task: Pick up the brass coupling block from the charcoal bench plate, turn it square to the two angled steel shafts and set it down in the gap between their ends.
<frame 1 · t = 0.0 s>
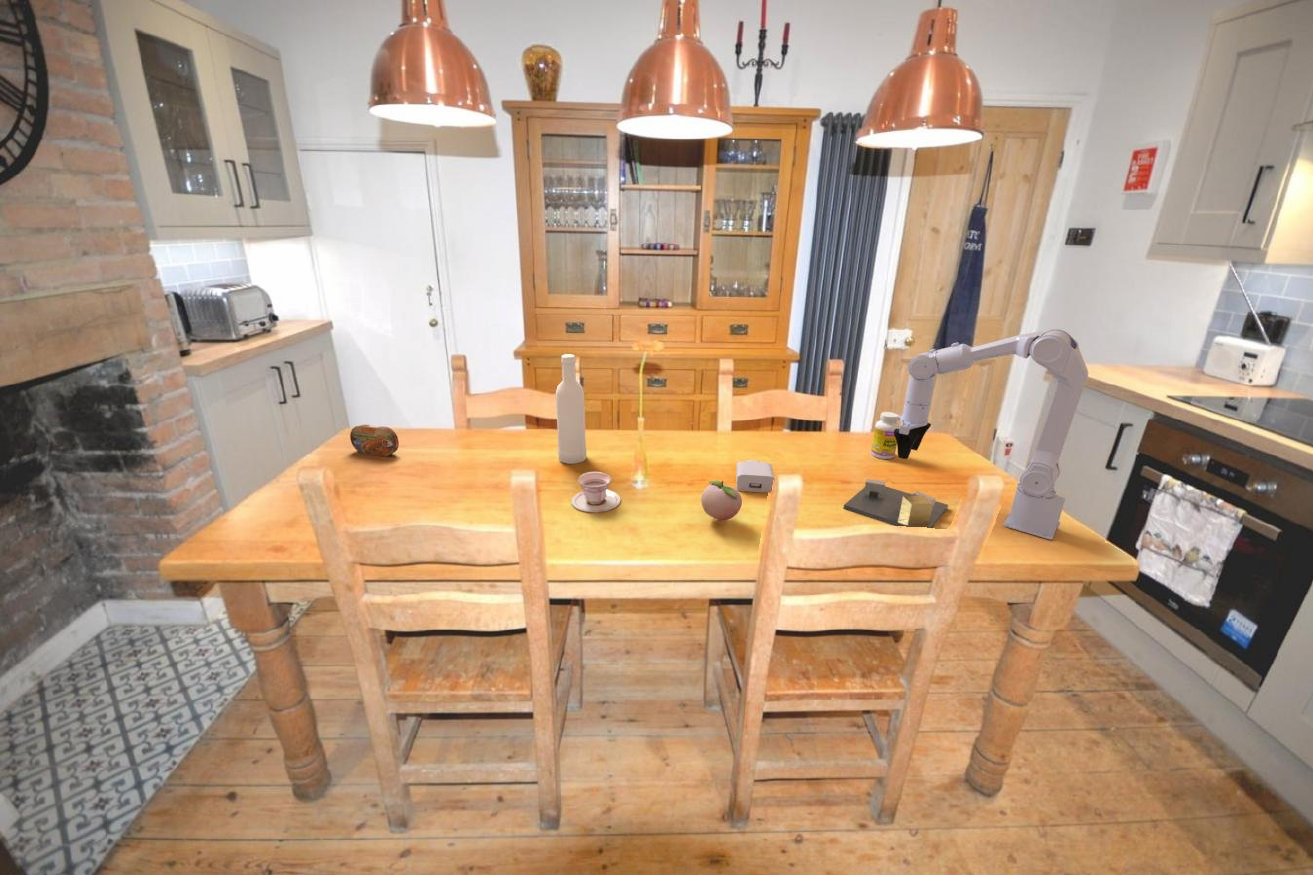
hand: (907, 453, 143), 10 cm above the table, tool pointing down, fingers open, 7 cm apart
teacup: (596, 502, 138), on the table
supplement bottle: (882, 456, 168), on the table
bottle: (572, 459, 163), on the table
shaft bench: (898, 502, 140), on the table
decorative fruit: (719, 521, 130), on the table
charger: (753, 480, 152), on the table
coupling block: (914, 519, 130), point 1 cm above the table, touching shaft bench
tin: (377, 453, 165), on the table
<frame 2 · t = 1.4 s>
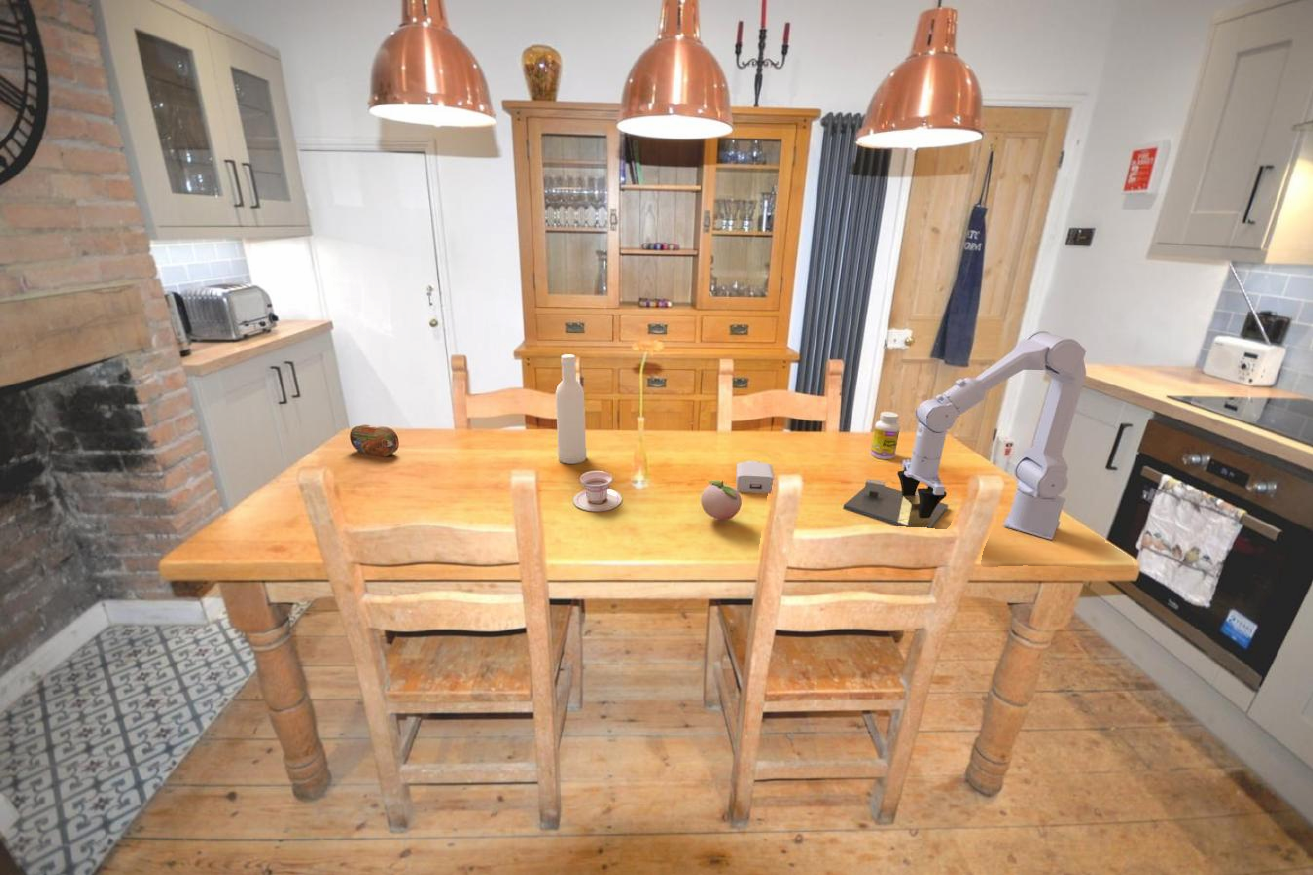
hand: (915, 509, 129), 4 cm above the table, tool pointing down, fingers open, 7 cm apart
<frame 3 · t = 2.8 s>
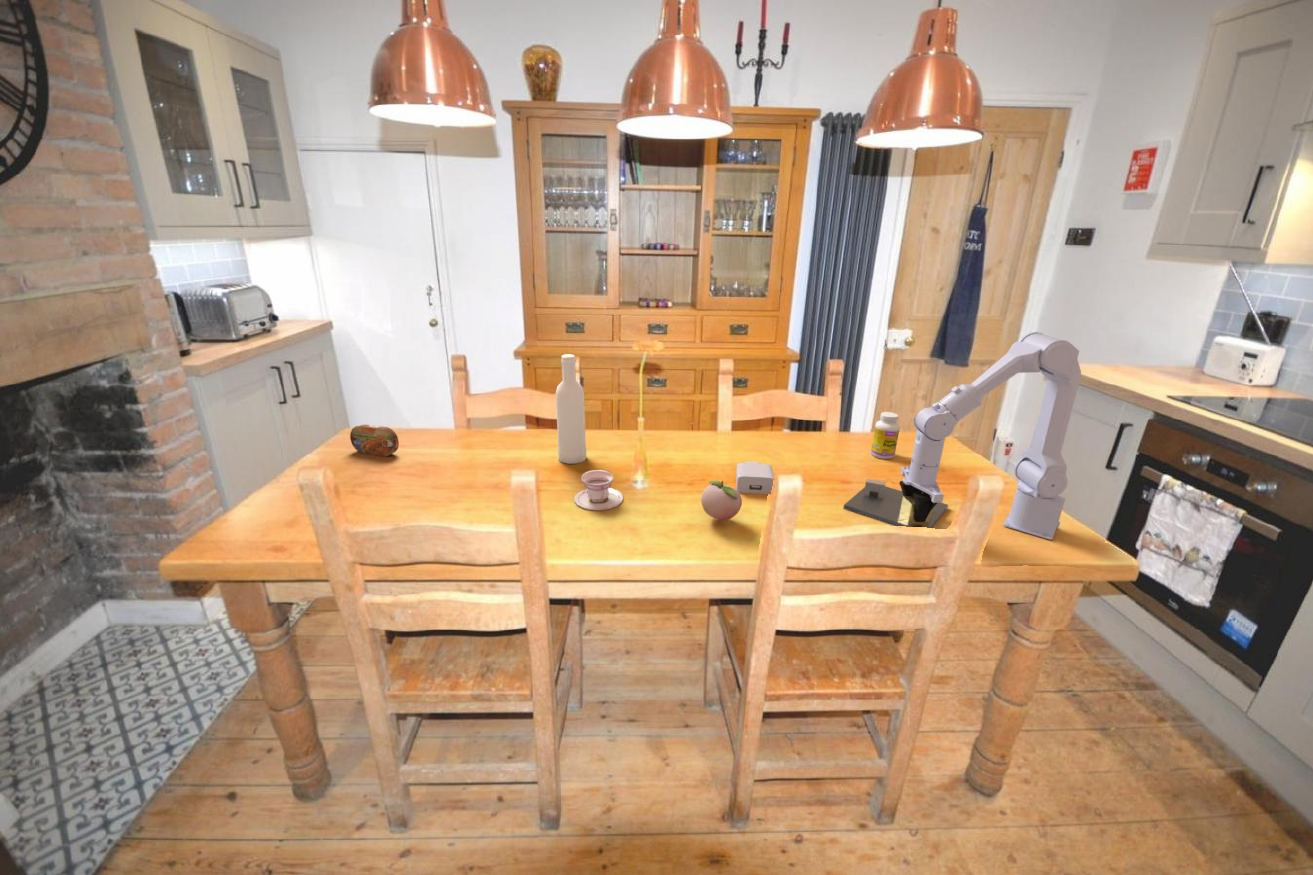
hand: (914, 516, 130), 2 cm above the table, tool pointing down, fingers closed on coupling block, 4 cm apart
coupling block: (914, 519, 130), point 1 cm above the table, touching gripper, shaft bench
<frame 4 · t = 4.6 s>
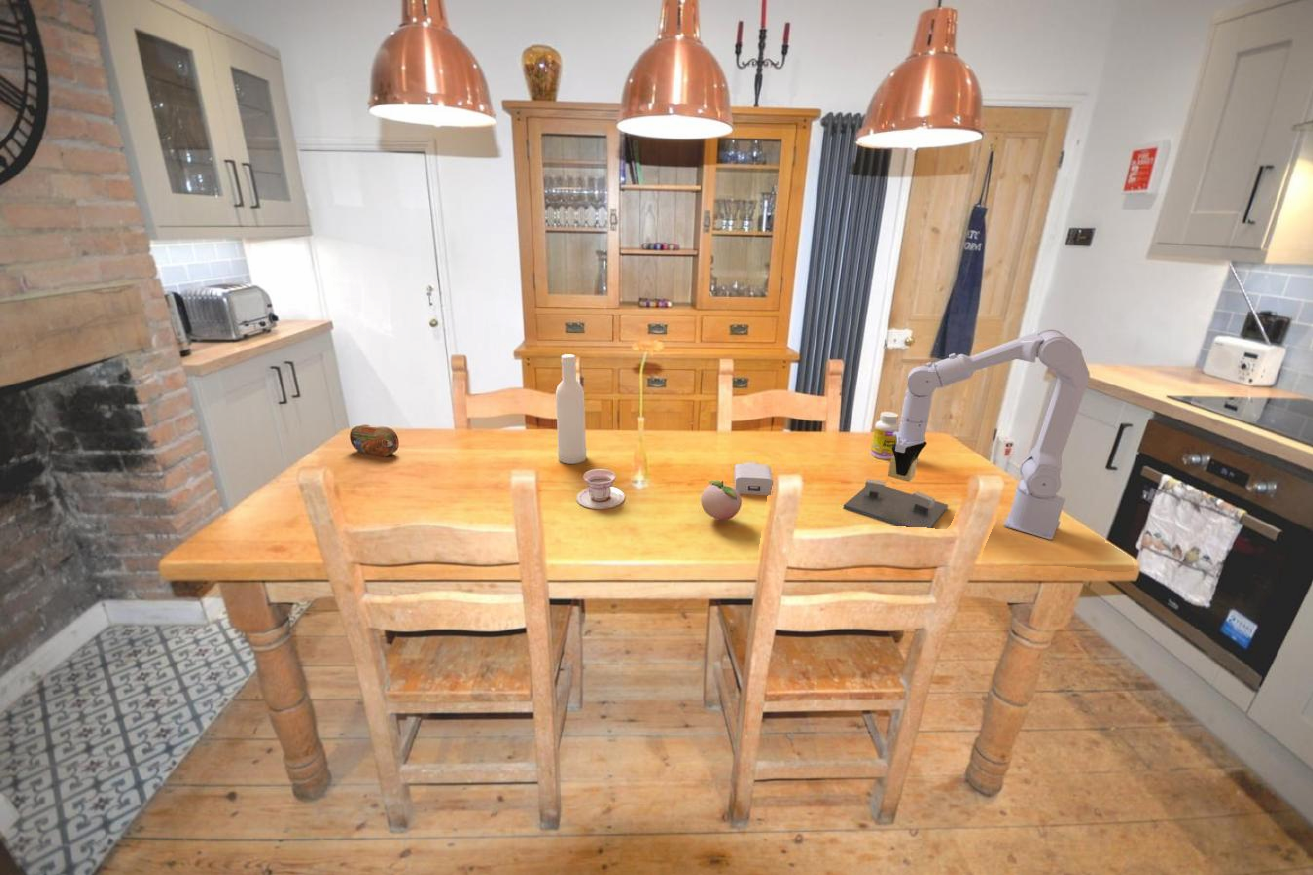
hand: (904, 471, 137), 8 cm above the table, tool pointing down, fingers closed on coupling block, 4 cm apart
coupling block: (900, 476, 138), point 7 cm above the table, touching gripper
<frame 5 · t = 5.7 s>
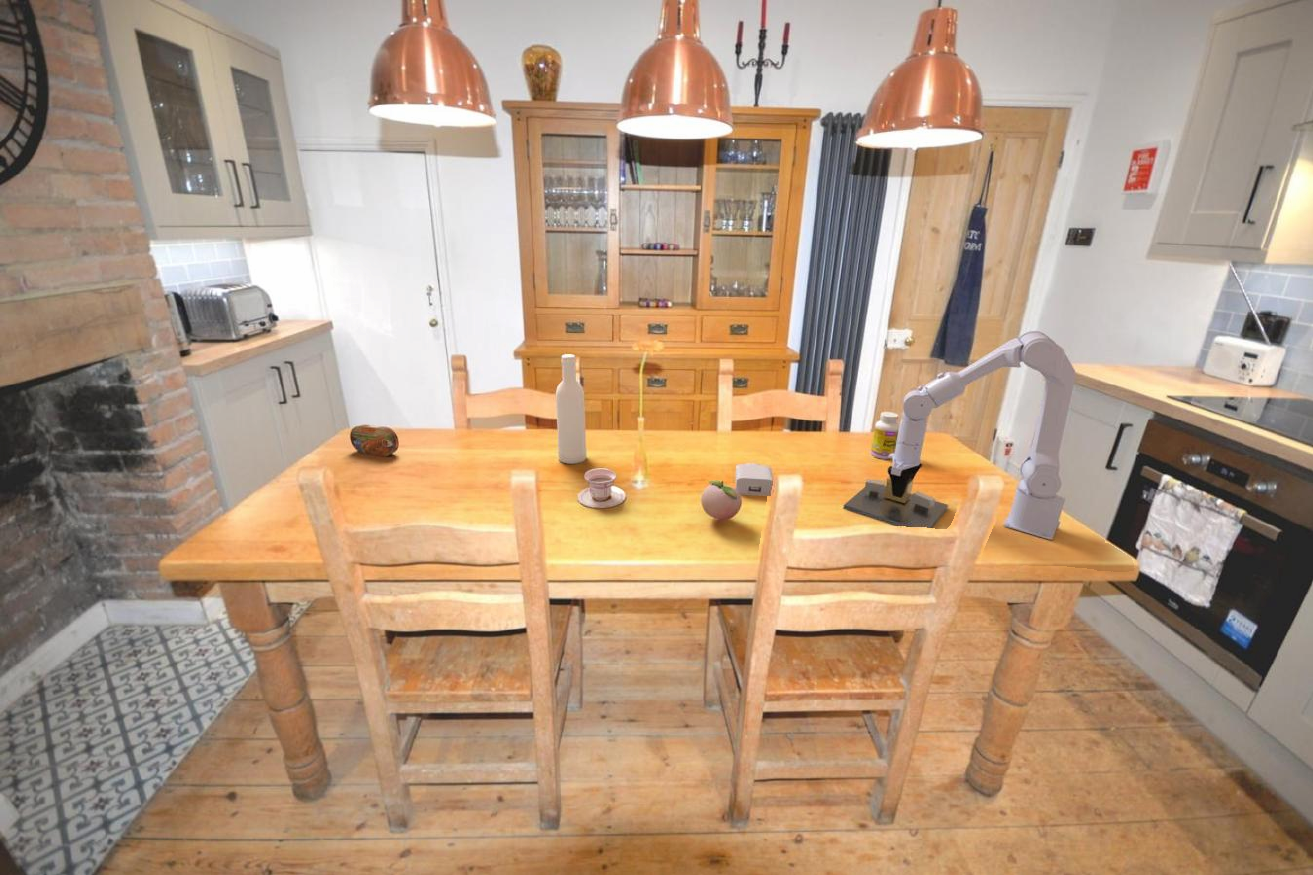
hand: (900, 492, 139), 3 cm above the table, tool pointing down, fingers closed on coupling block, 4 cm apart
coupling block: (897, 497, 140), point 1 cm above the table, touching gripper
when the fingers open (3 cm above the table, at t = 6.5 s): coupling block stays where it is, resting on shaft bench.
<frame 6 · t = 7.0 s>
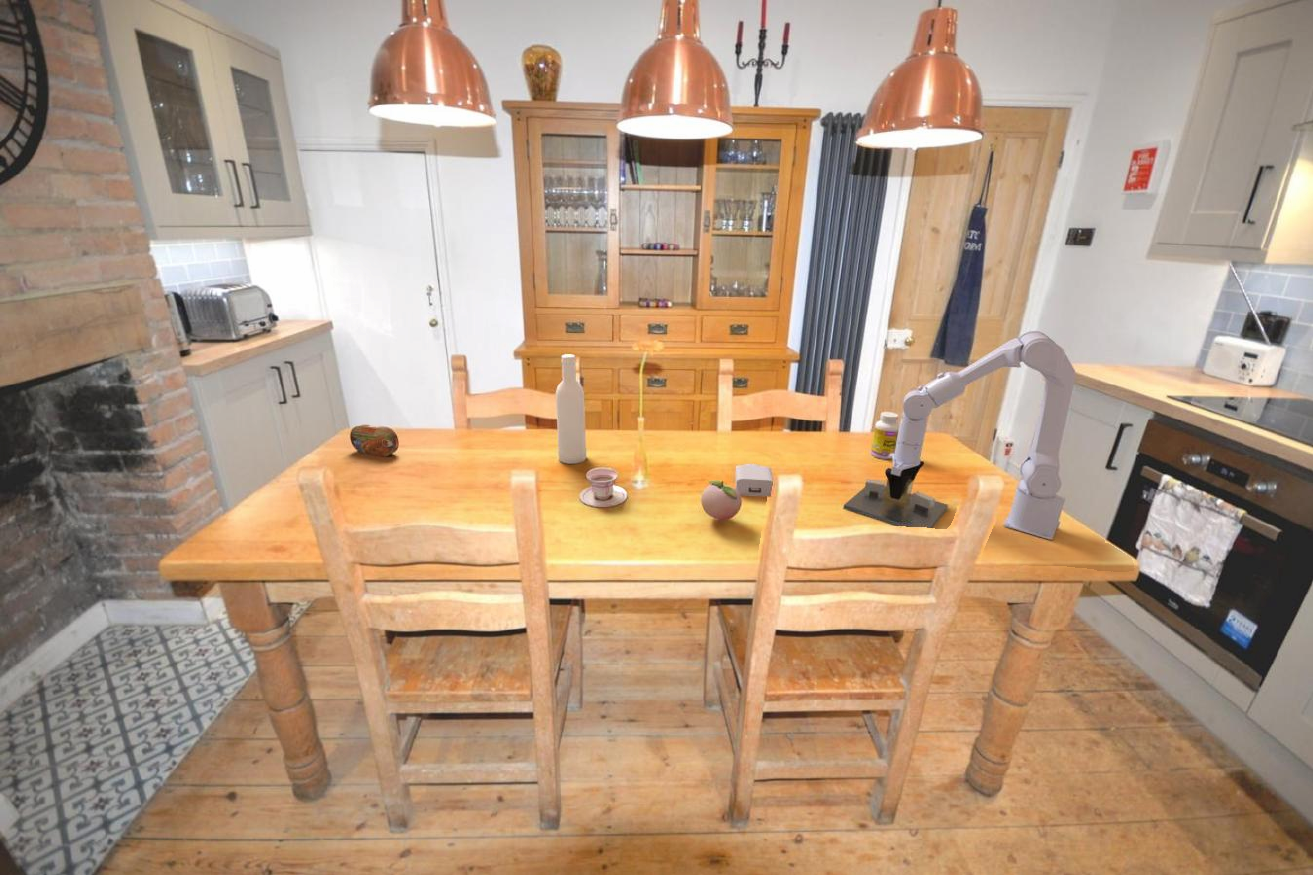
hand: (900, 492, 139), 3 cm above the table, tool pointing down, fingers open, 7 cm apart
coupling block: (896, 498, 140), point 1 cm above the table, touching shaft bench
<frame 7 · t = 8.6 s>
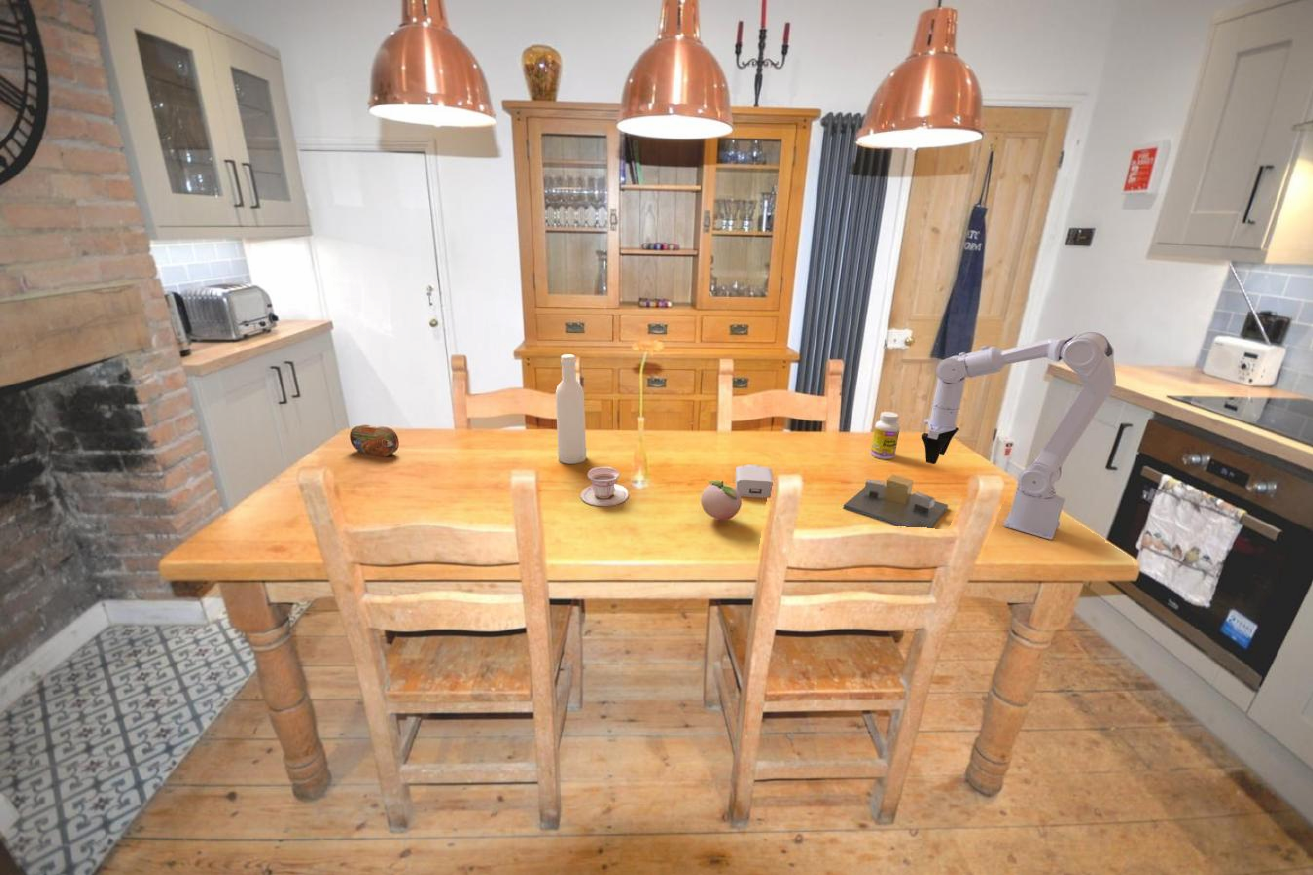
hand: (935, 458, 141), 10 cm above the table, tool pointing down, fingers open, 7 cm apart
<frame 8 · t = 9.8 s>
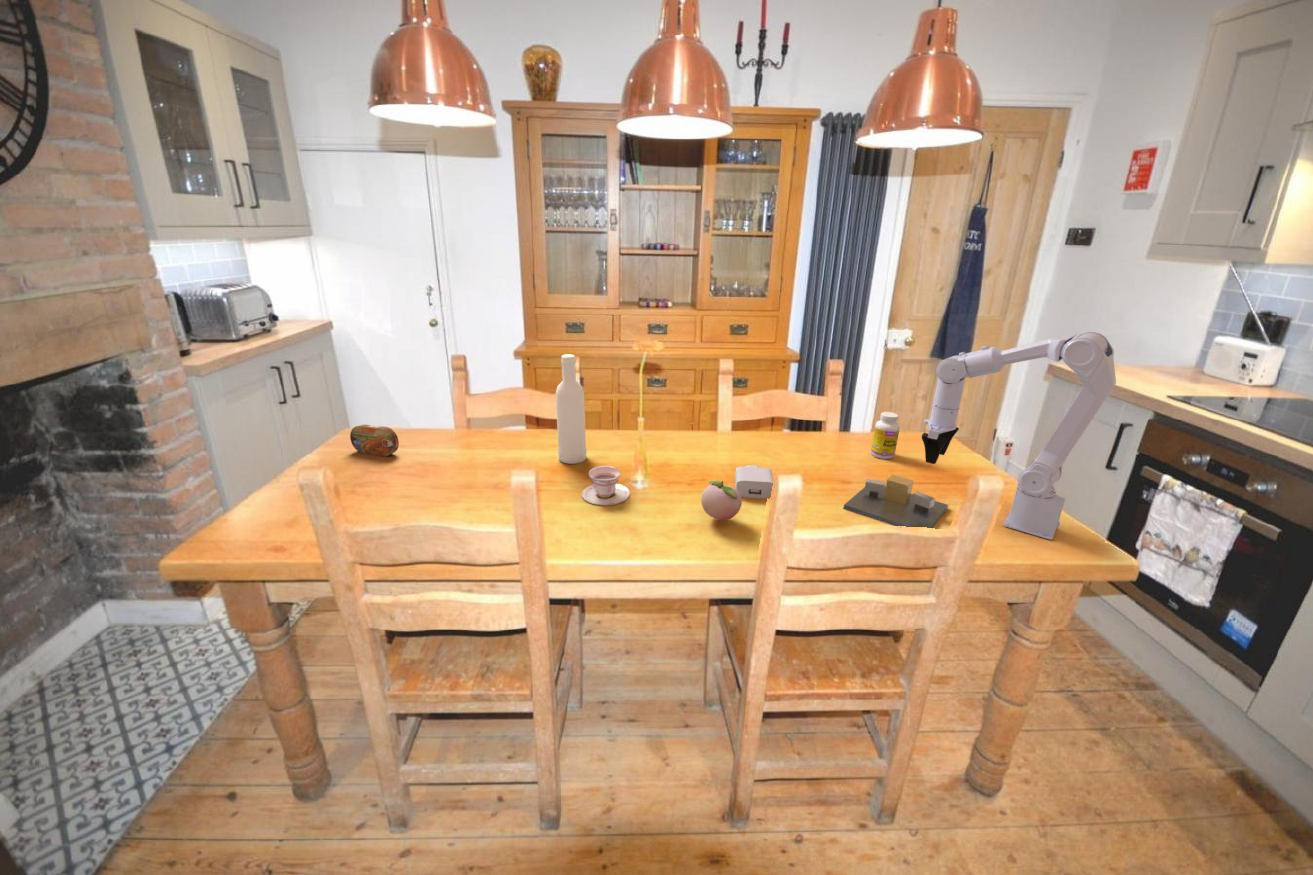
hand: (935, 458, 141), 10 cm above the table, tool pointing down, fingers open, 7 cm apart
at the end: coupling block 0.5 cm off-centre on the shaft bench, point 1.0 cm above the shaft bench's base; coupling block tilted 0°; the gripper is holding nothing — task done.
